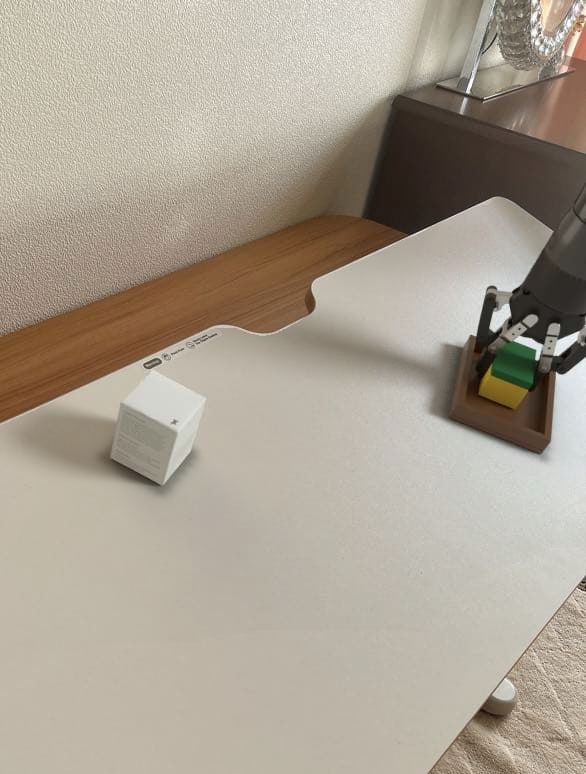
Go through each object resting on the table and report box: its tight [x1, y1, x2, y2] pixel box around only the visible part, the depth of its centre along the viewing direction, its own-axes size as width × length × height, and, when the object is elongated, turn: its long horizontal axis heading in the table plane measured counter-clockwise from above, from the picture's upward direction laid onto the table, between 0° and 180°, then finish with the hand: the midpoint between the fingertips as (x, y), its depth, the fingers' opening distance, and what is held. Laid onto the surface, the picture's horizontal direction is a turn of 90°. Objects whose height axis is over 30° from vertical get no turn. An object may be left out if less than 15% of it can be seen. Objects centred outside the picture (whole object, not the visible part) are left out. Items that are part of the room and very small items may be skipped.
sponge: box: [478, 340, 537, 409], centre depth 103 cm, size 7×5×4 cm, turn 161°
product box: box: [109, 369, 207, 486], centre depth 83 cm, size 6×6×7 cm
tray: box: [448, 334, 557, 455], centre depth 104 cm, size 15×11×2 cm
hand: (501, 381), depth 104 cm, fingers closed on sponge, 4 cm apart
